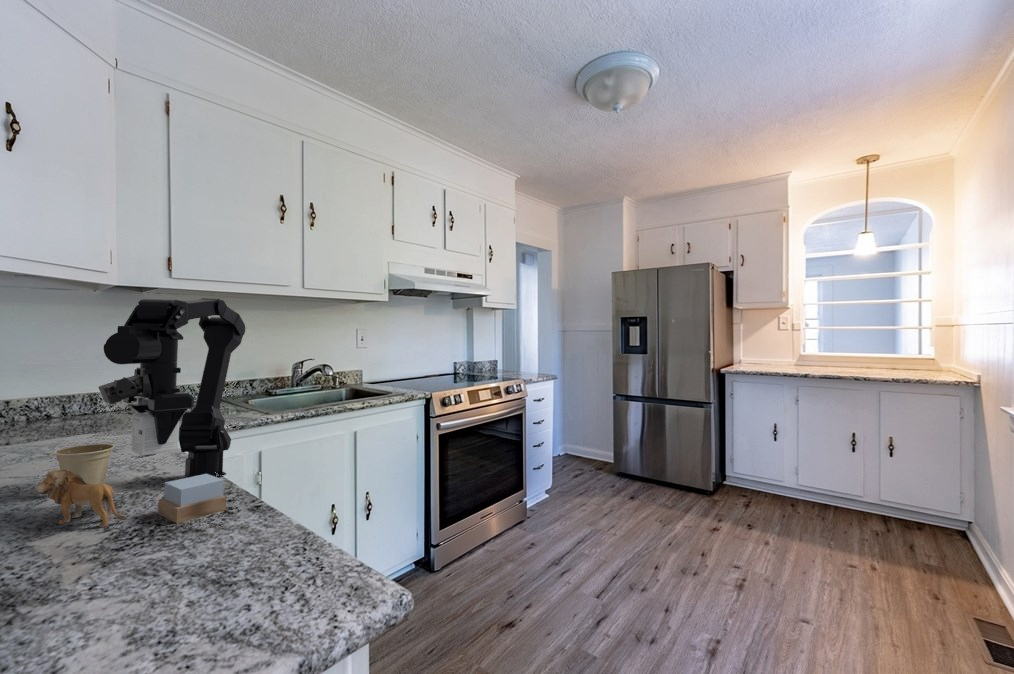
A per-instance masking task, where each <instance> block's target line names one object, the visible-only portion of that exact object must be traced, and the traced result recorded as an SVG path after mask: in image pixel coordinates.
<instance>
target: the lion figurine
mask: <svg viewBox="0 0 1014 674" xmlns="http://www.w3.org/2000/svg"><path fill="white" fill-rule="evenodd" d="M45 475H46V477H45V478H43V480H42V482H40V484H38V485H36V486H35V487H34V489H35V490H36V492H38V495H39V496H40V497H42V496H46V497H47V499H50V500H53V501H54V503H55V504H56V505H60V507H61V509H60V510H61V512H62V514H63V518H62V519H60V520H59V521H58V524H59V525H64V524H67V523H70V522H71V518H72V519H77V518H81V516H82V513H83V506H90V507H91V508H92V510H93V512H94V513H95V514H97V516H99V517H100V519H101V520H102V521H100V522H99V524H98V527H99V528H103V527H106V526H108V525H109V522H110V519H112V518H113V515H114V516H115V517H116V518H117V519H118V520H120V521H126V520H127V519H128V516H126V515H121V514H119V513H118V511H117V510H116V506H115V502H114V499H113V498H114V491H113V487H112V486H111V485H109V484H108V483H105V482H104V483H102V484H95V485H93V484H87V483H85V482H84V481H83V479H82V478H81V477H80V476H79V475H76V474H75V473H72V472H70V471H67V470H61V469H60V468H59V469H58V468H57V469H53V470H51V471H47V472H46V473H45ZM103 504H104V506H105V508H106V510H105V509H104V506H103ZM73 505H74V512H73V514H72V515H71V508H72V506H73Z"/></svg>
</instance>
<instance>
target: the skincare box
mask: <svg viewBox="0 0 1014 674" xmlns="http://www.w3.org/2000/svg"><path fill="white" fill-rule="evenodd" d="M131 425H132V426H131V430H132V431H131V451H132V452H134V453H136V454H138V455H139V456H147V455H155V454H160V453H165V452H173V451H177V450H179V444H180V443H179V428H180V421H179V422H178V423H177V425H176V427H175V428H174V430H173V432H172V433H171V435H170V437H169V439H168V440H167V442H166V444H162V445H159V444H158V440H157V435H156V428H155V421H154V417H152V416H151V415H150V414H148V413H138V412H136V413H132V423H131Z"/></svg>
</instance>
